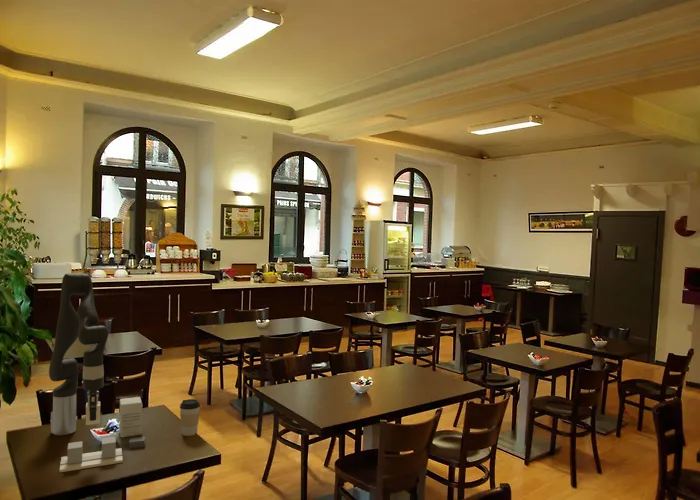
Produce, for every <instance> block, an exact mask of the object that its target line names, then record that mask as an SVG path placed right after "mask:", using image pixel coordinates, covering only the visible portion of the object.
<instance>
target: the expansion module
mask: <svg viewBox="0 0 700 500" xmlns="http://www.w3.org/2000/svg"><path fill="white" fill-rule="evenodd" d="M91 408H95V406H91ZM89 409H90V406H89V405H88V402H86V404H85V426H88V425H89V426H90V425H96V424H101V401H99V400H98V404H97V405H96V409H97V410H96V420H94V421H90V411H89Z"/></svg>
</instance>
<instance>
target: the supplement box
mask: <svg viewBox="0 0 700 500" xmlns="http://www.w3.org/2000/svg"><path fill="white" fill-rule="evenodd" d="M142 412H143V402H142V399H141V396H136V397H135V396H134V397H124V398H120V399H119V435H120V438H126V437H132V436H133V437H134V436H139V435H142V434H143V433H142V429H143V427H142V426H143V424H142V423H143V422H142V421H143V420H142V419H143V413H142Z"/></svg>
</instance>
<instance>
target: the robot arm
mask: <svg viewBox="0 0 700 500" xmlns="http://www.w3.org/2000/svg"><path fill="white" fill-rule="evenodd" d="M60 292H61V293H60V304H59V313H58V318H57V323H56V330H55V340H54V347H53V350H52V351H53V352H52V355H51V357H50V363H49V370H48V377H49V379H50V380H51V381H52V382H60V381H61V382H62V381H63V382H62V383H61V384H59V385H58V386H56V387H54V389H53V391H52V400H53V401H52V411H51V412H50V433H51V434H53V435H55V436H65V435H66V436H67V435H69V434H73V433H75V432H76V430H77V388H78V378H79V377H78V375H79V364H78V361H77V360H76V359H75V358H74V357H70V358H65V359H64V357H65V356H66V353H67V352H68V350H69V349H70V348H71V347H72V346H73V344H74V343H75V342H76V340H77V339H78V341H79V343H80V344H81V345H84V346H88V345H95V347H93V348H90V349H87V350H85V351H84V352H83V361H82V362H83V363H82V364H83V368H82V389H83V390H85V391H88V392H87V401H88V402H87V403H88V405H89V406H90V409H89V411H90V421H94V420H96V410H97V409H96V405H97V404H98V401H99V395H100V392H99V390H100V389H102V388H103V387H104V385H105V382H104V380H105V379H104V378H105V377H104V376H105V375H104V374H105V371H104V370H105V369H104V352H105V348H106V345H107V342H108V338H109V330H108V327H106V326H105V325H99V321H100V319H99V315H98V312H97V309H96V305H95V295H94V286H93V280H92V277H91V275H89V273H73V272H71V273H69V272H68V273H65V274H64V275H63V276H62V281H61V290H60ZM72 295H74V296H75V295H79V296H80V295H84V298H83V299H82V300H81V302H80V303H79V304H78V307H77V311H76V310H75V308H74V305H73V304H72V301H71V297H72ZM91 406H95V408H91Z"/></svg>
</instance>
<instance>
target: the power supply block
mask: <svg viewBox="0 0 700 500" xmlns="http://www.w3.org/2000/svg"><path fill="white" fill-rule="evenodd" d="M145 444H146V436H141V437H139V436H138V437H131V438H129V441H128V449H134V448H135V449H136V448H145Z"/></svg>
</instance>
